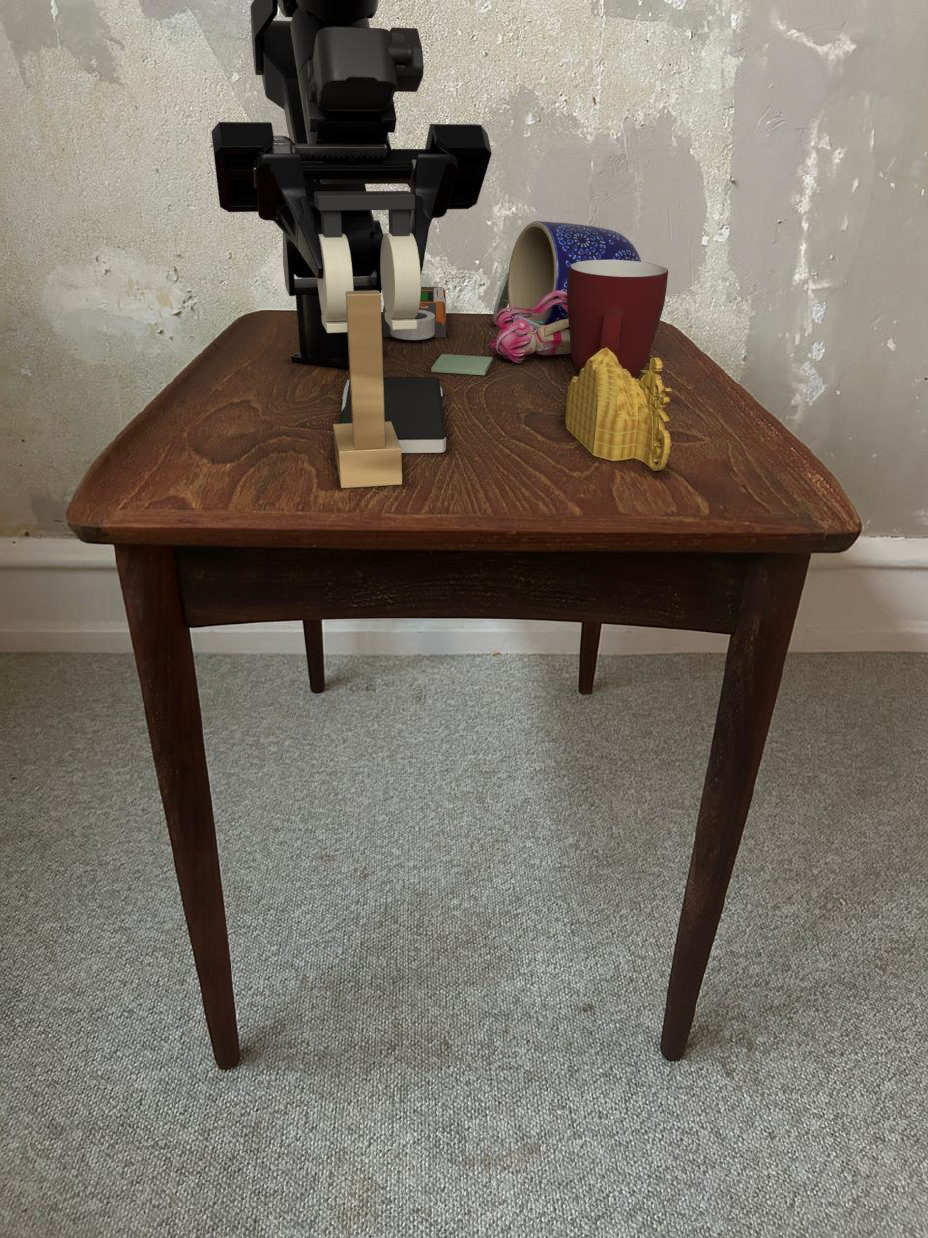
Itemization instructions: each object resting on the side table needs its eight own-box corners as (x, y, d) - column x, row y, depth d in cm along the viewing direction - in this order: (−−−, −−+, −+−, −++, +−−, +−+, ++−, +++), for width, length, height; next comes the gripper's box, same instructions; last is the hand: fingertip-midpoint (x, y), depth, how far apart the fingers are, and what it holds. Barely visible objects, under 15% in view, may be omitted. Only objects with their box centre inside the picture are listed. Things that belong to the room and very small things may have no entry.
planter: (635, 357, 91) (540, 355, 86) (588, 316, 98) (498, 313, 94) (668, 248, 84) (566, 240, 80) (615, 214, 92) (519, 205, 87)
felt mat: (431, 371, 80) (431, 367, 80) (441, 357, 84) (441, 353, 84) (484, 375, 79) (485, 371, 79) (492, 361, 84) (492, 356, 83)
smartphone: (333, 439, 61) (345, 376, 74) (334, 455, 62) (346, 390, 75) (448, 438, 62) (440, 376, 74) (448, 455, 62) (440, 390, 75)
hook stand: (334, 454, 62) (323, 275, 55) (390, 451, 62) (385, 274, 56) (341, 488, 57) (329, 294, 50) (402, 484, 57) (398, 293, 51)
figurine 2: (604, 419, 69) (614, 327, 65) (669, 476, 59) (684, 371, 56) (560, 422, 68) (567, 329, 65) (618, 480, 58) (630, 374, 55)
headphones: (319, 318, 64) (311, 188, 59) (405, 315, 65) (403, 187, 61) (329, 337, 59) (320, 198, 55) (421, 333, 61) (420, 197, 56)
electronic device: (381, 318, 87) (386, 281, 100) (381, 347, 89) (387, 308, 101) (448, 319, 88) (445, 282, 100) (447, 348, 89) (445, 309, 102)
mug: (663, 414, 71) (681, 284, 65) (563, 411, 71) (573, 281, 66) (646, 377, 80) (661, 260, 74) (558, 374, 80) (566, 258, 75)
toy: (630, 381, 88) (488, 382, 84) (616, 336, 90) (477, 335, 86) (661, 330, 81) (509, 328, 77) (645, 283, 83) (496, 278, 79)
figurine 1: (489, 334, 96) (558, 357, 95) (497, 289, 91) (569, 312, 90) (506, 306, 99) (572, 328, 98) (514, 261, 94) (584, 283, 93)
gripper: (192, -33, 53) (220, 191, 49) (488, -18, 57) (532, 188, 54) (208, 113, 63) (232, 304, 60) (457, 116, 67) (491, 295, 64)
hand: (370, 273), depth 59 cm, fingers closed on headphones, 6 cm apart
